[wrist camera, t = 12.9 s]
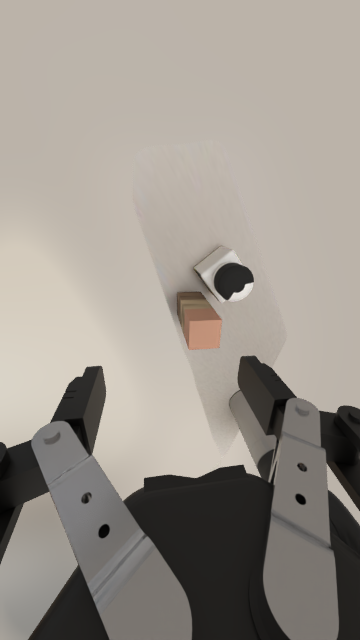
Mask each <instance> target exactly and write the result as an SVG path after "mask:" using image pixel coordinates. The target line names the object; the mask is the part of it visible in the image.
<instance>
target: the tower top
mask: <svg viewBox="0 0 360 640" xmlns="http://www.w3.org/2000/svg"><path fill="white" fill-rule="evenodd" d="M206 308H212V306H211V305H210V304H209V302H208V301H207V300H206V299H197V300H181V307H180V324H181V327H182V330H183V334H184V317H185V309H206Z"/></svg>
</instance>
